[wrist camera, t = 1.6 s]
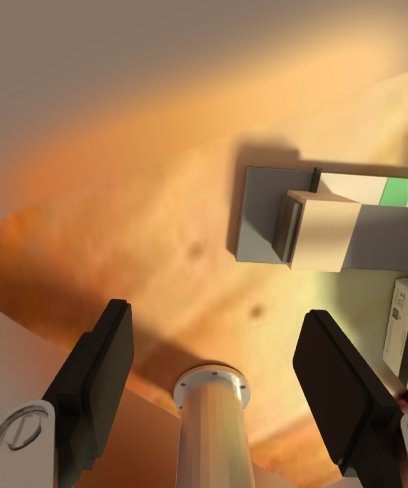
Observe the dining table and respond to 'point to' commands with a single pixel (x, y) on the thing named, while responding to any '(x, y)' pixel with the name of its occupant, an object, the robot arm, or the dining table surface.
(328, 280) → the dining table surface
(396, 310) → the tea box
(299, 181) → the base
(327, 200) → the block
